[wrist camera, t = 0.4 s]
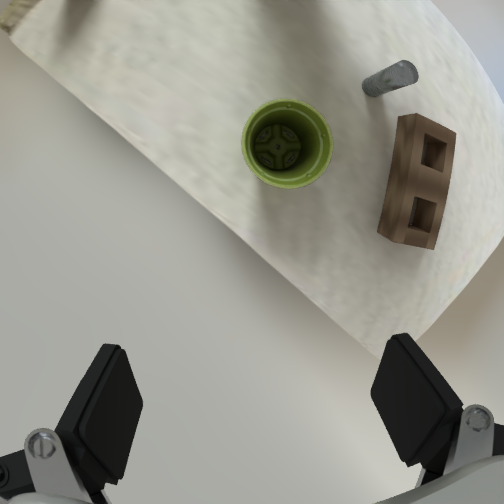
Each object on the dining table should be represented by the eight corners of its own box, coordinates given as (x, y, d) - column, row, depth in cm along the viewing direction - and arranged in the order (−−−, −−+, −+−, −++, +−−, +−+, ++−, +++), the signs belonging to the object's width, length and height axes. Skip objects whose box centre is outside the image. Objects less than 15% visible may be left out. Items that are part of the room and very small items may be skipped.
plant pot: (225, 153, 34) (222, 151, 26) (270, 98, 32) (280, 81, 24) (282, 196, 37) (295, 207, 28) (325, 142, 35) (350, 139, 26)
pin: (362, 75, 31) (397, 56, 22) (381, 82, 32) (418, 66, 22) (361, 93, 32) (396, 77, 23) (379, 99, 32) (417, 87, 23)
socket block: (398, 116, 33) (416, 113, 29) (436, 133, 34) (456, 133, 29) (377, 232, 39) (393, 242, 34) (416, 240, 40) (433, 249, 35)
